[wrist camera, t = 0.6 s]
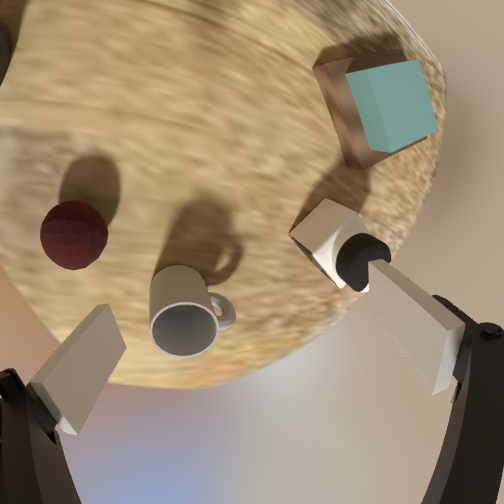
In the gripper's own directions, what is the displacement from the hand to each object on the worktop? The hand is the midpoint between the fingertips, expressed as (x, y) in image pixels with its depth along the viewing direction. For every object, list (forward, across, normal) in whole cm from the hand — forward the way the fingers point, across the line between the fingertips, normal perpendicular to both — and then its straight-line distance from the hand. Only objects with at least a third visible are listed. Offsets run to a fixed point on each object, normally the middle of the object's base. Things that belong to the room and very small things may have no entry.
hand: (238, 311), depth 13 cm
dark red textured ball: (+17, -18, +4) cm, 25 cm away
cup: (+22, -8, -7) cm, 24 cm away
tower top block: (+22, +21, +13) cm, 33 cm away
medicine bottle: (+26, +10, -4) cm, 28 cm away
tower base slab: (+26, +20, +14) cm, 35 cm away
